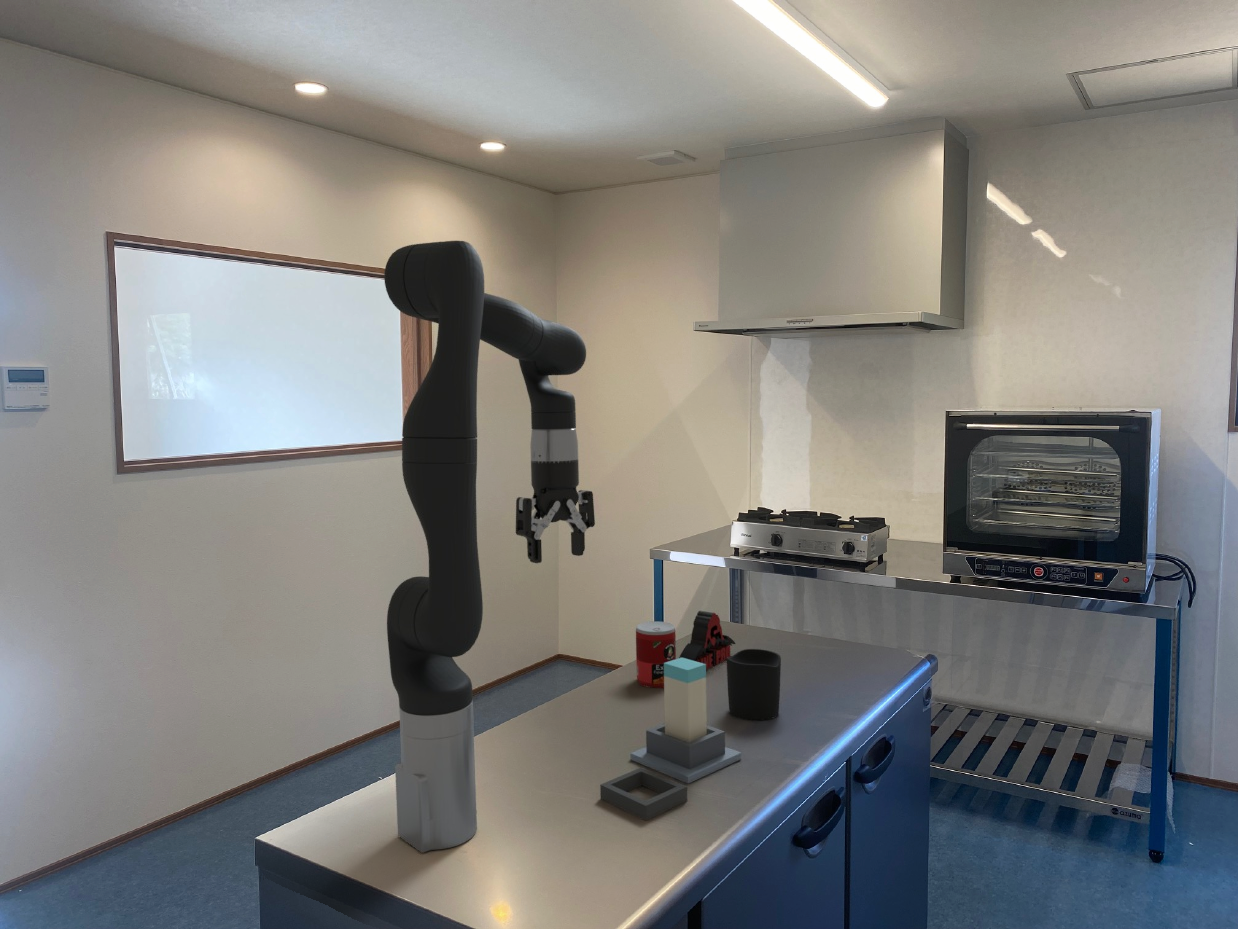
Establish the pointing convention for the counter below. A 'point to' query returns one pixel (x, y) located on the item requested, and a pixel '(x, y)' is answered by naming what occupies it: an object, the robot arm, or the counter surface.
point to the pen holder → (754, 684)
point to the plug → (685, 699)
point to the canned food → (654, 651)
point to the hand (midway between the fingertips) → (557, 558)
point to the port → (685, 754)
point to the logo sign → (707, 641)
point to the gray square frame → (621, 798)
